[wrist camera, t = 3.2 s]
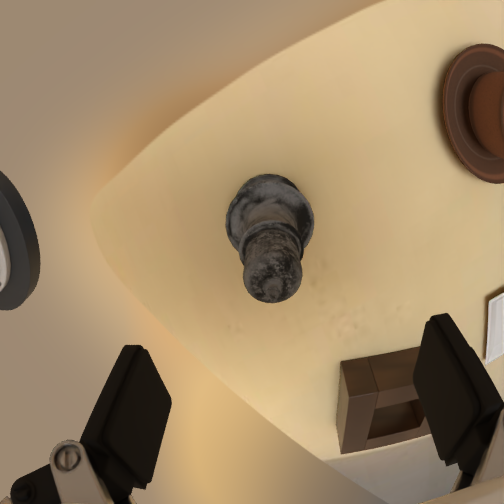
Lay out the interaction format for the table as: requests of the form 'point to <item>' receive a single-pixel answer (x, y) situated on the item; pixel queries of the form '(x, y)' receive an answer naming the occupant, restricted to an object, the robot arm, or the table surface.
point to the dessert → (495, 329)
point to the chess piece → (270, 235)
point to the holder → (379, 402)
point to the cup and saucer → (477, 110)
